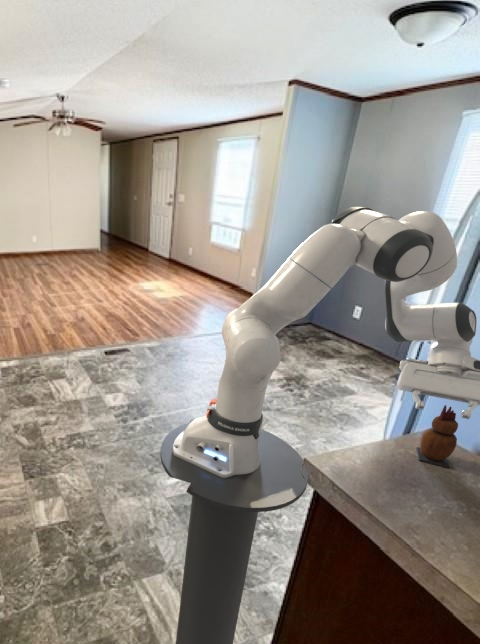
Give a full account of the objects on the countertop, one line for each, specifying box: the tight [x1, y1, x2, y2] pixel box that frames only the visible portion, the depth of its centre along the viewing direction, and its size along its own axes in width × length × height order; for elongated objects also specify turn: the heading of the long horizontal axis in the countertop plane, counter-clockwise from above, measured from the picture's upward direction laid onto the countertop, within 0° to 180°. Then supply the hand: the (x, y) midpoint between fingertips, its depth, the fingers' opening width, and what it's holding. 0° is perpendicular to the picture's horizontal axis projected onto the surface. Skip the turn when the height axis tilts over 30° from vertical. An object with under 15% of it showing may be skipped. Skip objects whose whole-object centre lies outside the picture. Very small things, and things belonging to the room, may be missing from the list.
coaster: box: [416, 446, 450, 469], centre depth 107 cm, size 6×6×1 cm
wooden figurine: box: [419, 404, 459, 460], centre depth 104 cm, size 7×6×15 cm
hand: (442, 413), depth 108 cm, fingers open, 8 cm apart
